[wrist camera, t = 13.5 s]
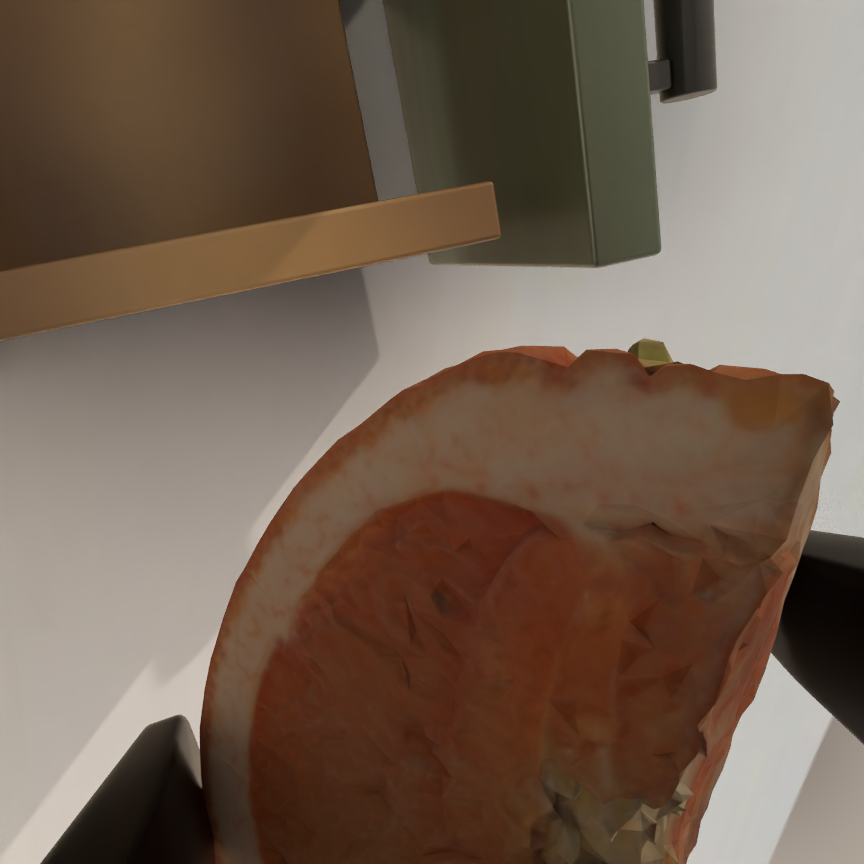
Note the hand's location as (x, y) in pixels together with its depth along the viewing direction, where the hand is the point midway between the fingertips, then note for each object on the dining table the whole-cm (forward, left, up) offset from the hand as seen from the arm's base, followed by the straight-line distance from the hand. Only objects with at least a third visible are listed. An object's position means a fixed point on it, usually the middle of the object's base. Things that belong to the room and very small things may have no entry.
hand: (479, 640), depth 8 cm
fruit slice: (0, 0, -1) cm, 1 cm away
